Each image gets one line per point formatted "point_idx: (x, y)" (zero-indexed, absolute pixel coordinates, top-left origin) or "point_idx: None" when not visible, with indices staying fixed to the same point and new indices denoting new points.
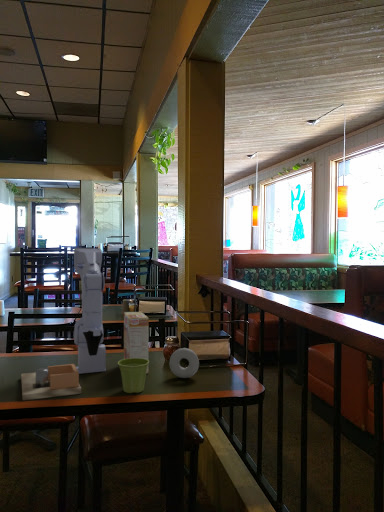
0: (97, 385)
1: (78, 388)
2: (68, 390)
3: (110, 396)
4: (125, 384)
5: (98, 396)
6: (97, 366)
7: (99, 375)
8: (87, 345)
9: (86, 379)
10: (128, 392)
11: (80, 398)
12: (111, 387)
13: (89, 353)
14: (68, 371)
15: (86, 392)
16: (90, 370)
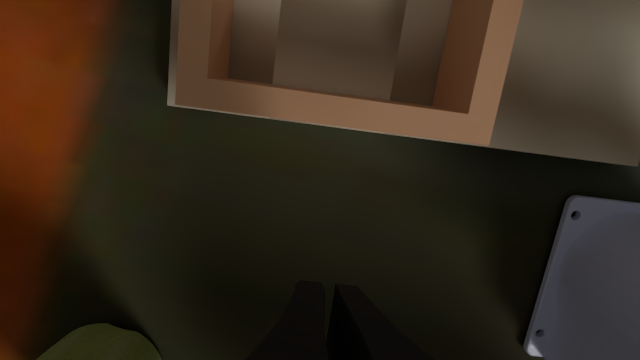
0: (286, 231)
1: (168, 87)
2: (173, 18)
3: (55, 236)
4: (51, 352)
5: (81, 178)
6: (569, 325)
7: (469, 295)
8: (364, 331)
9: (436, 207)
10: (66, 335)
11: (85, 73)
12: (211, 287)
13: (296, 287)
14: (452, 89)
15: (184, 137)
16: (560, 271)
